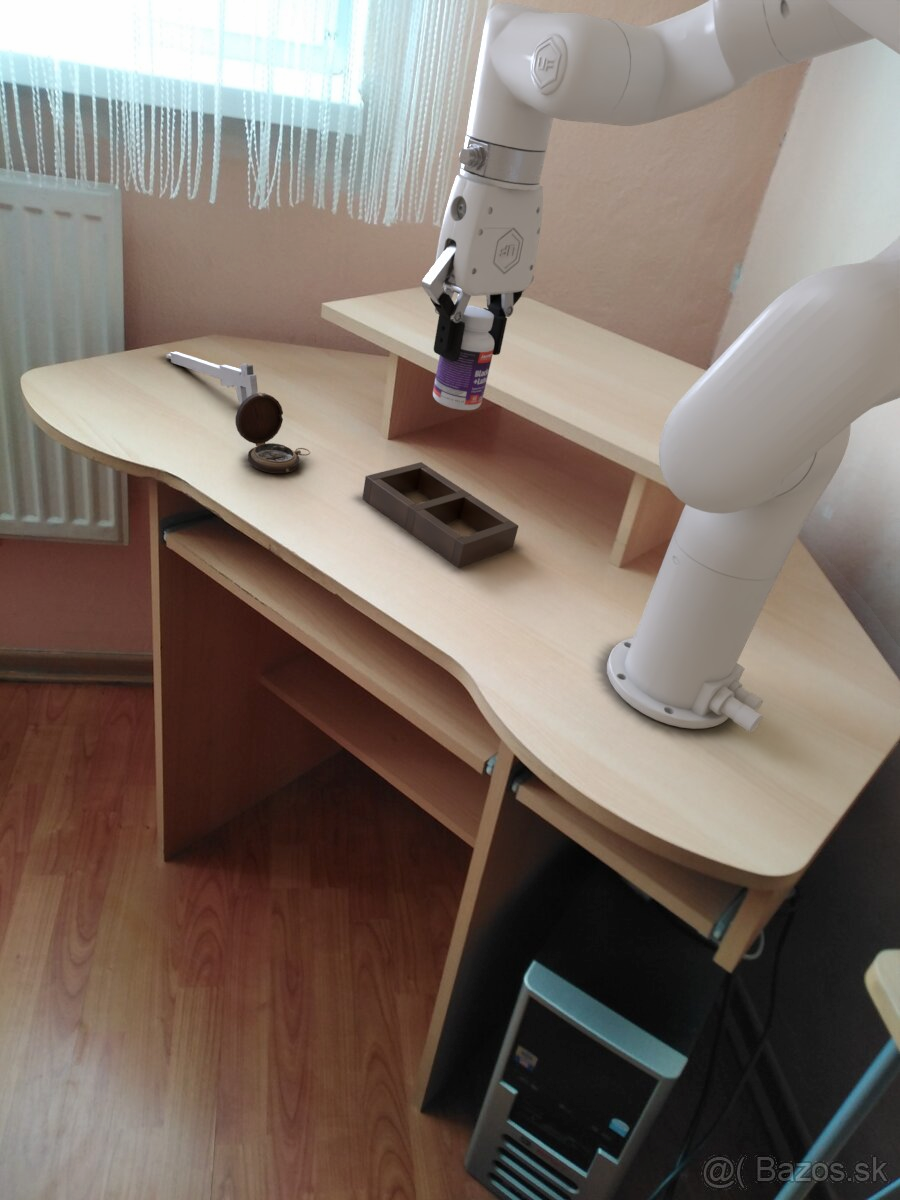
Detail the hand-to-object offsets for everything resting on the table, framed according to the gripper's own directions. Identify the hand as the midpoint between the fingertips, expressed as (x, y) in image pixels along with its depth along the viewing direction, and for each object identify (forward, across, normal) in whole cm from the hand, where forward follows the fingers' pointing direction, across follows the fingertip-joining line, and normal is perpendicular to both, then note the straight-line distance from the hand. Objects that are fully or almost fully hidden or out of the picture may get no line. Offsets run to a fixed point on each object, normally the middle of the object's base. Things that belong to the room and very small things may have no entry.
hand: (467, 351), depth 93 cm
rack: (+20, 0, 0) cm, 20 cm away
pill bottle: (+6, 0, 0) cm, 6 cm away
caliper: (+20, -4, +42) cm, 47 cm away
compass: (+20, -8, +20) cm, 30 cm away
